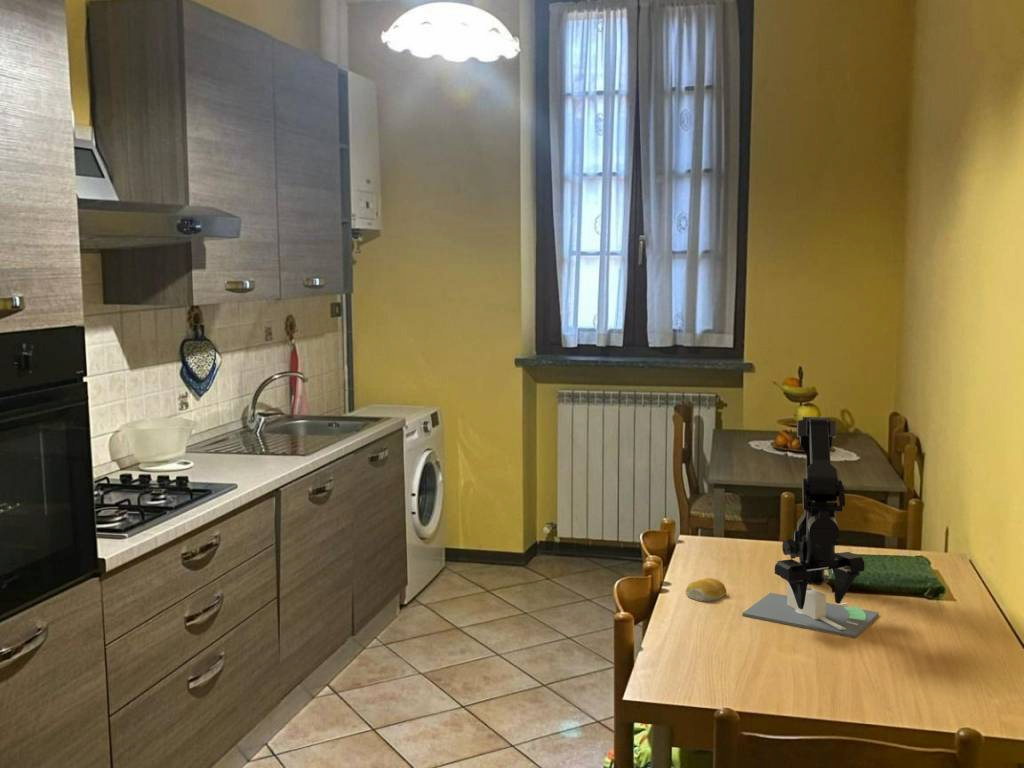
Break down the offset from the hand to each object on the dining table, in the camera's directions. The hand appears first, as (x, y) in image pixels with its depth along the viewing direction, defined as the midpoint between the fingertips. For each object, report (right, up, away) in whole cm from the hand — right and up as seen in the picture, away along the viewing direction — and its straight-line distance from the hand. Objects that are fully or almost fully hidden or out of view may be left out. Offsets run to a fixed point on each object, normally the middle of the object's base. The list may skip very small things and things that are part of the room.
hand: (819, 605), depth 212 cm
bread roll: (-20, -2, +18) cm, 27 cm away
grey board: (0, -3, +5) cm, 6 cm away
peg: (0, -2, +1) cm, 3 cm away
